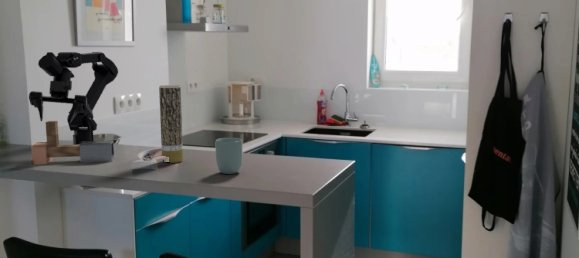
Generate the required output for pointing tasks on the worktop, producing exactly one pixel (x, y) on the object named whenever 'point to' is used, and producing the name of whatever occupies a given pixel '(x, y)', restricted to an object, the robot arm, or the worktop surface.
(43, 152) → the light brown block
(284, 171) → the worktop surface
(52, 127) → the wooden l-shaped block
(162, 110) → the speckled tall cylinder
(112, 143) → the sleeve
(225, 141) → the cup
